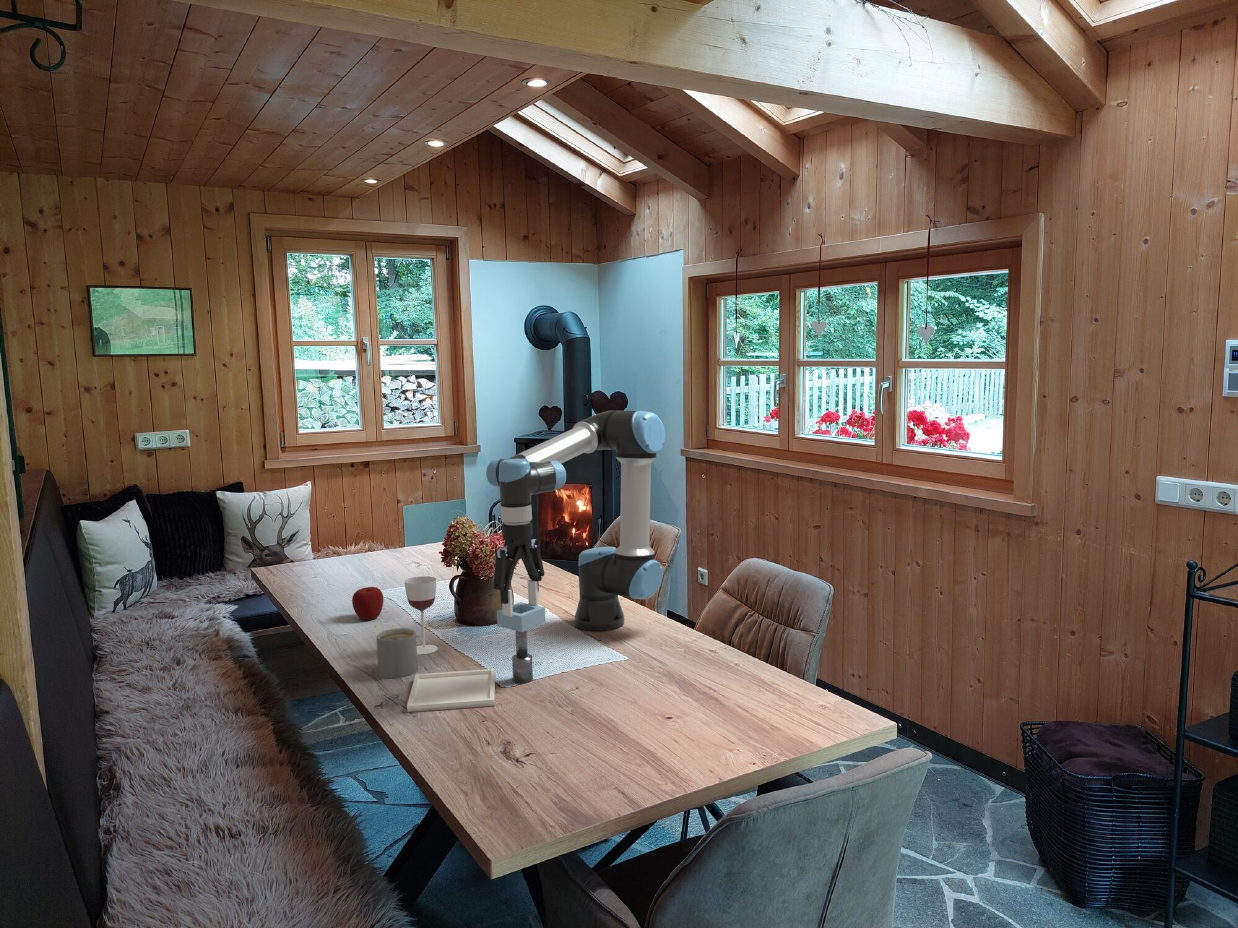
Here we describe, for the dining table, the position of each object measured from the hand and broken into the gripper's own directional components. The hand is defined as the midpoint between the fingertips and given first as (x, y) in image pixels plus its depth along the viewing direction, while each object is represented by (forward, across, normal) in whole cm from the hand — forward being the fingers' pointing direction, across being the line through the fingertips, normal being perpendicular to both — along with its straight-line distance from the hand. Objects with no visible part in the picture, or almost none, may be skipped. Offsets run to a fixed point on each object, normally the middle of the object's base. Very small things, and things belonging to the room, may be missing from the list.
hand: (520, 610), depth 214 cm
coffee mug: (+18, +14, -33) cm, 40 cm away
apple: (+18, -10, -76) cm, 79 cm away
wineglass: (+18, 0, -39) cm, 43 cm away
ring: (+4, 0, 0) cm, 4 cm away
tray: (+18, +16, -8) cm, 25 cm away
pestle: (+18, 0, 0) cm, 18 cm away
